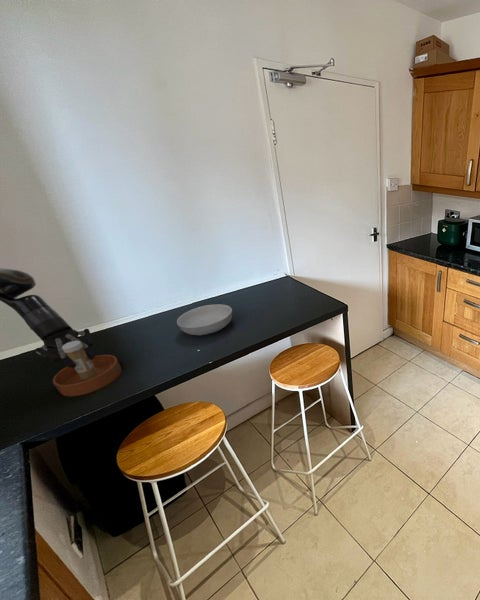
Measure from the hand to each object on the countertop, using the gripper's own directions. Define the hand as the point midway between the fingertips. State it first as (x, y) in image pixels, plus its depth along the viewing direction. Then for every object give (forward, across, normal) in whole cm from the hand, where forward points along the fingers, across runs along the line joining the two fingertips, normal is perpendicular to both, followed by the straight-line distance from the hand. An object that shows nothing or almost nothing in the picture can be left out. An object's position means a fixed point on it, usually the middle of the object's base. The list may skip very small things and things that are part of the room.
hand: (83, 362), depth 104 cm
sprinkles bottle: (+3, 0, +6) cm, 7 cm away
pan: (+4, 0, +7) cm, 8 cm away
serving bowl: (+10, +40, +2) cm, 41 cm away
